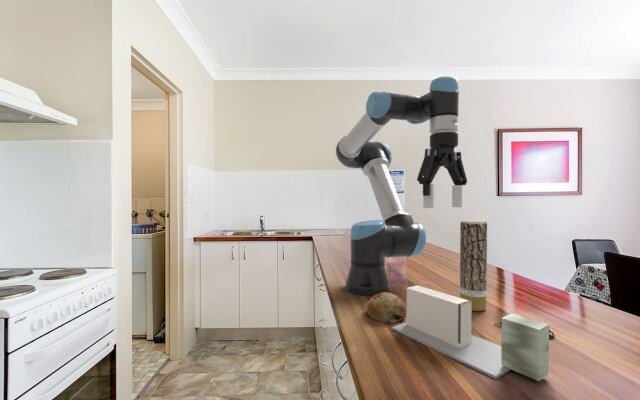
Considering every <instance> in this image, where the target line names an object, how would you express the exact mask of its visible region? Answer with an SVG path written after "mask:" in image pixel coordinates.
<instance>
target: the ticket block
mask: <svg viewBox="0 0 640 400" xmlns="http://www.w3.org/2000/svg"><path fill="white" fill-rule="evenodd" d="M471 310H472V301H470V300H465V299H462V298H460V297H458V296H455V295H451V294H449V293H445V292H441V291H438V290H434V289H430V288H428V287H424V286H421V285H413V286H409V287H406V322H403V323H400V324H397V325H395V326H391V329H392V330H394V331H395V332H398V333H400V334H401V335H404V336H405V337H407V338H410V339H412V340H415V341H416V342H418V343H420V344H422V345H424V346H427V347H429V348H430V349H433V350H435V351H436V352H438V353H441V354H442V355H445V356H447V357H449V358H452V359H454V360H456V361H458V362H459V363H462V364H464V365H466V366H468V367H469V368H473V369H474V370H476V371H478V372H480V373H482V374H484V375H487V376H489V377H490V378H493V379H495V380H497V379H499V378H500V377H502V376H503V375H505V374H506V373H508V372H509V371H512V369H509V368H507V367H505V366H503V365H501V345H499V344H496V343H494V342H491V341H489V340H486V339H484V338H481V337H478V336H475V335H473V334H472V311H471Z"/></svg>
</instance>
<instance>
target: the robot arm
mask: <svg viewBox="0 0 640 400" xmlns="http://www.w3.org/2000/svg"><path fill="white" fill-rule="evenodd" d="M459 95H460V90H459V80H458V78H456V77H454V76H448V75H447V76H439V77H437V78H435V79H433V80H432V81H431V82H430V85H429V92H427V93H426V94H425V93H424V94H423V95H412V94H402V93H401V94H400V93H392V92H386V91H374V92H371V93H370V94H369V95H368V98H367V100H366V103H365V104H366V105H365V113H364V115H363V116H362V117H360V118H359V120H358V122H357V123H356V124H355V125H354V127H353V128H352V129H351V130H350V131H349V133H348V134H347V135H345V136H343V137H342V138H340V140H339V141H338V142H337V144H336V147H335V156H336V158H337V159H338V161H339V163H341V165H343V166H344V167H347V168H349V169H361V171H362V173H363V175H364V176H366V177H368V180H369V184H370V185H371V188H372V191H373V194H374V198H375V200H376V203H377V206H378V208H379V209H378V210H379V211H380V215H381V217H382V220H381V219H372V220H365V221H364V220H363V221H359V222H356V223H354V224H352V226H351V228H350V229H351V230H350V237H349V239H350V267H349V271H348V274H347V278H346V279H345V290H346V291H348V292H349V293H352V294H356V295H362V296H375V295H376V294H379V293H382V292H388V293H390V291H391V283H390V280H389V278H388V274H387V271H386V267H385V265H386V264H385V263H386V258H400V257H402V258H403V257H407V258H408V257H414V256H418V255H420V254H421V253H422V252H423V251H424V248H425V246H426V241H427V233H426V229H425V227H424V226H423V225H422V224H420V223H419V222H414V220H413V219H414V218H413V217H412V215H411V214H409V213H407V212H406V211H405V209H404V207H403V204H402V201H401V199H400V196H399V193H398V191H397V188H396V185H395V184H394V182H393V179H392V175H391V173H390V171H389V168H390V165H391V163H392V158H393V157H392V150H391V149H390V147H389V146H388V145H387V144H386V143H383V142H379V141H371V140H372V139H373V138H374V137H375V136H376V134H378V133H379V132H380V131H381V129H382V128H384V127H385V126H386V124H388V123H389V122H390V121H391V120H399V121H406V122H408V123H409V124H411V125H417V124H423V123H425V122H427V121H429V134H430V135H429V147H430V148H425V149H424V158H423V161H422V163H421V166H420V169H419V172H418V175H417V177H416V180H417V182H418V183H419V185H422V195H423V201H422V202H423V203H422V205H423V206H422V208H423V209H434V195H435V194H434V193H435V192H434V190H435V189H434V188H435V186H434V184H433V183H432V182H433V181H434V178H435V177H436V175H437V174H438V171H439V170H440V168H441V167H444V168H445V169H446V170H447V172H448V174H449V177H450V178H451V181H452V182H453V185H451V188H452V189H451V195H452V196H451V208H462V207H463V186H466V185H467V183H468V179H467V174H466V171H465V168H464V165H463V161H462V152H461V151H455V148H457V147H458V145H459V134H458V131H459Z"/></svg>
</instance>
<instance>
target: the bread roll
mask: <svg viewBox="0 0 640 400" xmlns="http://www.w3.org/2000/svg"><path fill="white" fill-rule="evenodd" d="M366 307H367V308H366V309H367V313H368V316H369V317H371V319H373V320H376V321H377V322H378V321H379V322H381V323H389V324H390V323H391V324H395V323H397V322H401V321H403V320H404V319H405V318H407V306H406V305H405V304H404V301H403V300H402V299H401V298H399V296H398V295H397V294H394V293H391V292H382V293H379V294H376V295H372V297H370V300H369V301H368V302H367V304H366Z"/></svg>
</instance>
